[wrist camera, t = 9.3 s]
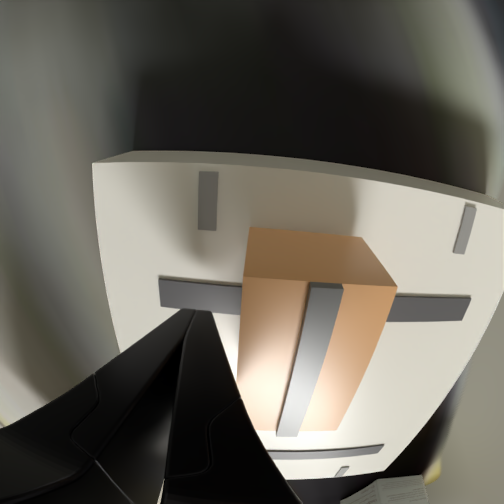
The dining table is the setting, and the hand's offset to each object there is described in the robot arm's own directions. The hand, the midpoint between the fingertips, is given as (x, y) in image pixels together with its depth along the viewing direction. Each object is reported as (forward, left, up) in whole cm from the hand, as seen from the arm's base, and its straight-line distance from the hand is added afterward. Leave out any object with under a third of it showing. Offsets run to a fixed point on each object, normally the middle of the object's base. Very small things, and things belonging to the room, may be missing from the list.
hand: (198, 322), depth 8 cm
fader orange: (+3, 0, -1) cm, 3 cm away
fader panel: (+4, -5, -4) cm, 8 cm away
